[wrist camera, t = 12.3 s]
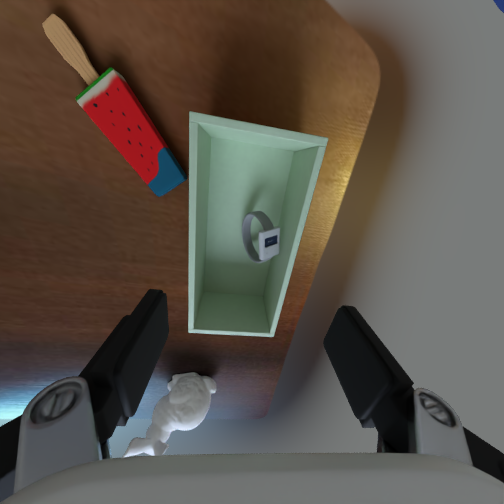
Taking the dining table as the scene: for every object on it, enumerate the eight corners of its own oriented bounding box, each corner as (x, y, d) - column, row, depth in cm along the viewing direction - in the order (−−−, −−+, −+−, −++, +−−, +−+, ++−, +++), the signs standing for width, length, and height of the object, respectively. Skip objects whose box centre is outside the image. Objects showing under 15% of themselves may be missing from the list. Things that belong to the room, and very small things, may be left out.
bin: (206, 130, 19) (189, 110, 13) (298, 147, 21) (328, 137, 14) (200, 292, 28) (188, 332, 21) (265, 297, 29) (273, 337, 23)
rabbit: (171, 397, 39) (146, 486, 29) (146, 373, 35) (106, 464, 25) (224, 383, 38) (218, 468, 28) (204, 356, 34) (189, 443, 24)
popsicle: (61, -8, 14) (187, 177, 20) (76, 7, 15) (191, 176, 21) (21, 33, 15) (155, 199, 21) (39, 44, 16) (160, 197, 22)
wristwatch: (255, 251, 26) (280, 264, 22) (238, 257, 24) (262, 272, 20) (253, 206, 23) (281, 213, 19) (234, 210, 21) (261, 218, 18)
